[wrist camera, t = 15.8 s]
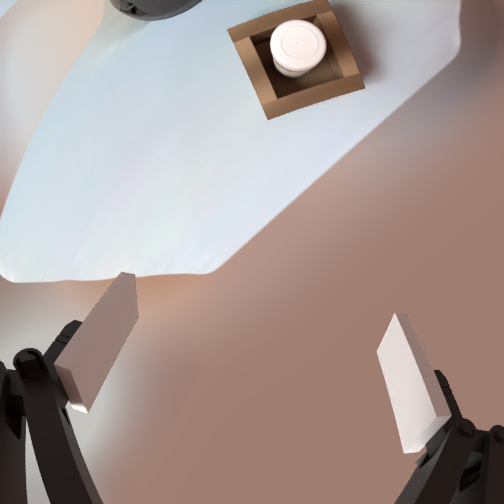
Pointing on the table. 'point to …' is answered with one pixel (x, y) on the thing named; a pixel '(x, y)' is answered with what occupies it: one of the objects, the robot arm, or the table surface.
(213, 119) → the table surface
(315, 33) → the sprinkles bottle
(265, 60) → the walnut socket block
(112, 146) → the table surface
